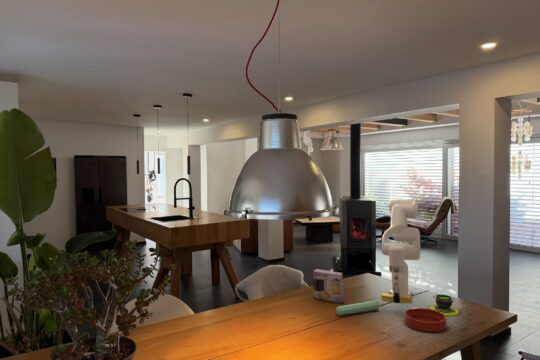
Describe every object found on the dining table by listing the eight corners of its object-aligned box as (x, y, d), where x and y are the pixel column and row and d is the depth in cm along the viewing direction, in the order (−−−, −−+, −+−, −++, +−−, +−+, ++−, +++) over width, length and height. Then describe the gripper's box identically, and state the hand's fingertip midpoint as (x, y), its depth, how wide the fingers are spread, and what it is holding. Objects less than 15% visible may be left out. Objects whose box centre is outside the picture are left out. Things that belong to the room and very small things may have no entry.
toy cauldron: (464, 312, 206) (464, 292, 206) (446, 317, 200) (446, 296, 199) (441, 303, 220) (441, 285, 219) (423, 308, 213) (423, 289, 213)
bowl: (404, 315, 203) (404, 306, 203) (444, 319, 197) (444, 310, 196) (405, 330, 185) (405, 320, 184) (448, 335, 178) (448, 324, 178)
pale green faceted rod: (337, 305, 202) (377, 299, 210) (333, 306, 207) (372, 300, 215) (340, 317, 200) (380, 310, 208) (335, 317, 205) (374, 310, 213)
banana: (381, 298, 212) (381, 292, 212) (412, 301, 206) (412, 295, 206) (381, 301, 207) (381, 296, 207) (412, 304, 202) (412, 299, 201)
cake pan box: (312, 297, 233) (312, 269, 233) (316, 295, 237) (316, 268, 237) (340, 304, 221) (340, 274, 221) (344, 301, 225) (343, 272, 225)
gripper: (403, 273, 196) (404, 307, 197) (403, 264, 212) (403, 296, 213) (388, 272, 198) (389, 306, 199) (389, 264, 214) (389, 295, 215)
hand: (396, 300), depth 206 cm, fingers closed on banana, 3 cm apart
